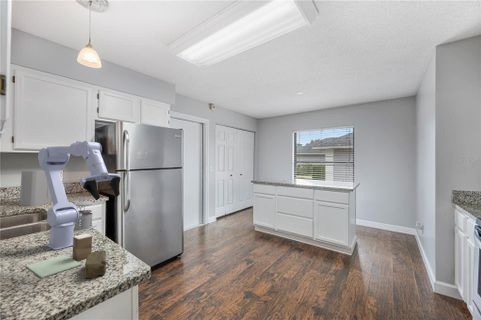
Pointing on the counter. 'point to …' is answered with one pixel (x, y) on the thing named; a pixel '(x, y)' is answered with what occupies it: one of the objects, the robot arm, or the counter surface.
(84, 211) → the french press
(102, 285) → the counter surface
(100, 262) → the stone block
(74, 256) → the walnut block
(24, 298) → the counter surface
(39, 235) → the counter surface
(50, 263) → the sage mat
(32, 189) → the tall grey box
